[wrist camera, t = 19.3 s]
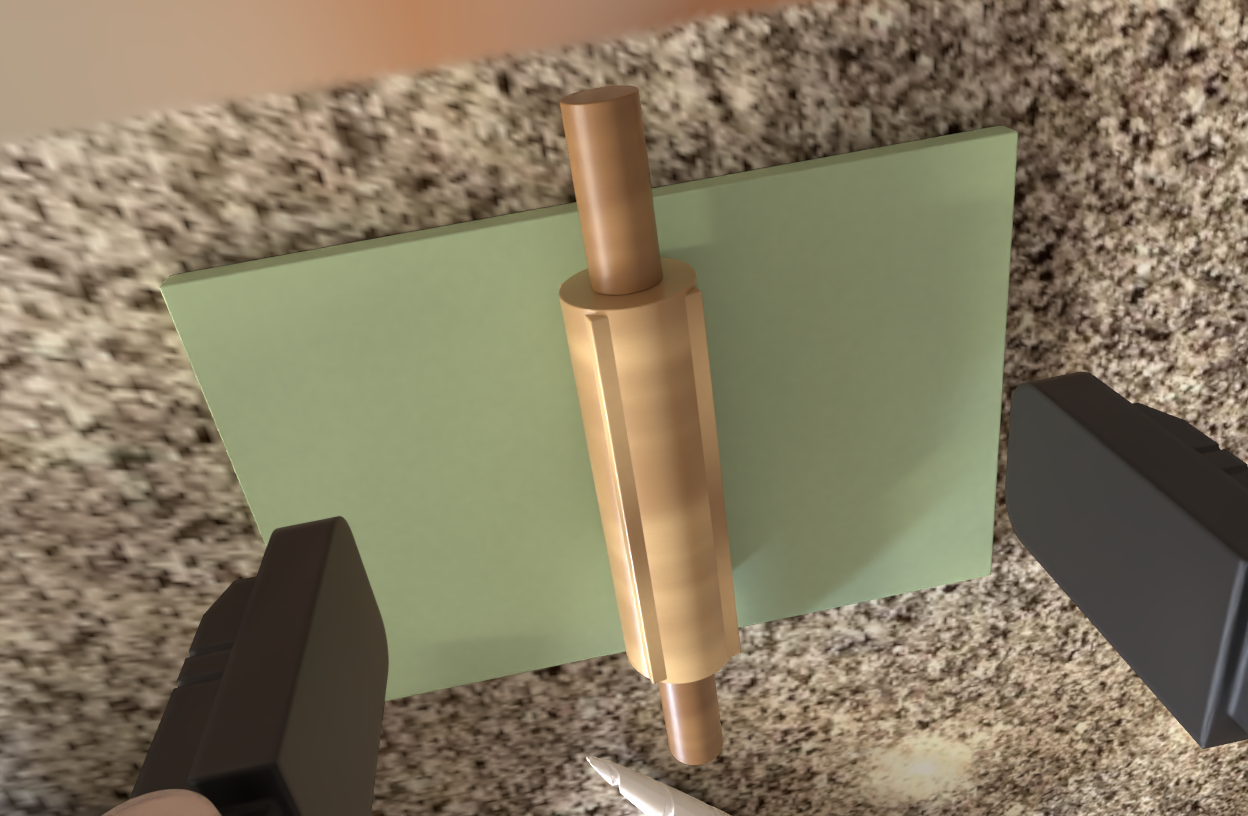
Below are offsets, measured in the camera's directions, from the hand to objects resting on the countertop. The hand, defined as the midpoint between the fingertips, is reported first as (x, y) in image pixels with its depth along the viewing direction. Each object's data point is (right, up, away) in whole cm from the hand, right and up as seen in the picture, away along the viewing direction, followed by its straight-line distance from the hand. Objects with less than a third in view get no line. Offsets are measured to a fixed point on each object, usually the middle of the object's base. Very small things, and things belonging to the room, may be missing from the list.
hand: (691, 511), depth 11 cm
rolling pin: (0, -1, +25) cm, 25 cm away
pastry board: (0, 0, +26) cm, 26 cm away
